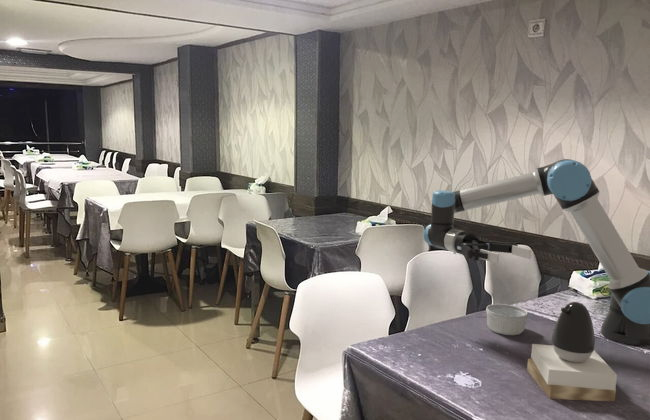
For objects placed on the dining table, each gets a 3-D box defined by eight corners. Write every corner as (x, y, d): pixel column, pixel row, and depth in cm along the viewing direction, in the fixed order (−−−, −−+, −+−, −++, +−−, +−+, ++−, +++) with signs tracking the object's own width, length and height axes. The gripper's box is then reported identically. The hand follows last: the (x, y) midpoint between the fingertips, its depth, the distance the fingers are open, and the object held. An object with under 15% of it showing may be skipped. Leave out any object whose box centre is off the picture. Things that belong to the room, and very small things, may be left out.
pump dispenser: (541, 353, 139) (546, 298, 137) (568, 348, 144) (573, 294, 142) (574, 369, 130) (579, 311, 128) (602, 362, 135) (608, 306, 132)
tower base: (584, 374, 146) (585, 360, 145) (614, 403, 130) (616, 388, 129) (526, 372, 146) (528, 358, 146) (549, 401, 130) (551, 386, 130)
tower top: (591, 362, 144) (592, 348, 144) (615, 390, 129) (617, 375, 128) (530, 357, 146) (532, 343, 146) (547, 384, 131) (548, 369, 130)
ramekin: (517, 323, 183) (518, 303, 182) (532, 337, 170) (534, 317, 169) (479, 322, 183) (481, 303, 182) (492, 336, 170) (494, 316, 169)
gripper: (488, 250, 176) (542, 264, 158) (431, 257, 164) (482, 273, 145) (490, 228, 175) (544, 240, 157) (432, 234, 163) (484, 247, 144)
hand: (514, 256), depth 151 cm, fingers open, 13 cm apart
